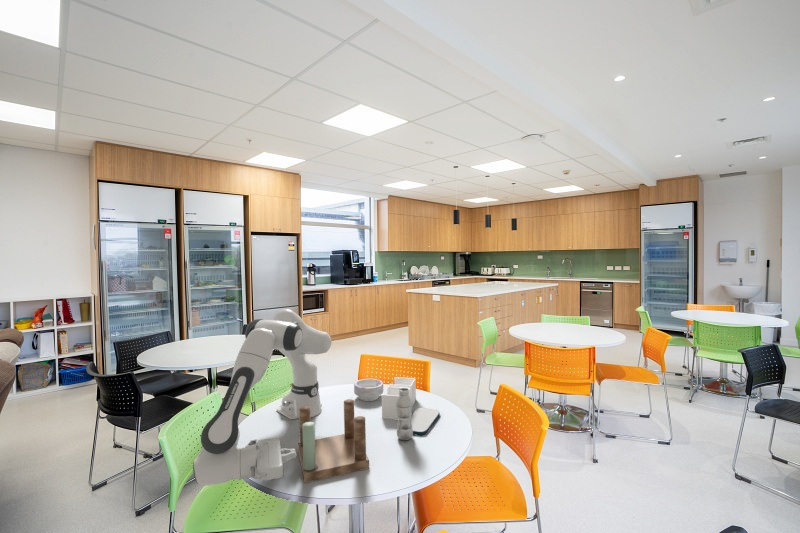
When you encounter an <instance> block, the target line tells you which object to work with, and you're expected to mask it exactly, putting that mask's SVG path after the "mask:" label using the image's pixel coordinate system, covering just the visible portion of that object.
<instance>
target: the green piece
mask: <svg viewBox="0 0 800 533" xmlns="http://www.w3.org/2000/svg"><path fill="white" fill-rule="evenodd" d="M315 424H316V423H315V422H313V421H310V422H306V423H304V424H303V425H302V428H303V465H304V469H305V470H312V469H314V468H315V467H316V455H315V440H316V427H315V426H316V425H315Z"/></svg>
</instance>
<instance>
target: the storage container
mask: <svg viewBox="0 0 800 533" xmlns="http://www.w3.org/2000/svg"><path fill="white" fill-rule="evenodd" d="M393 379H394V380H393V382H394V383H389V386H387V388H386V391H387V392H386V393H387V394H384V393H382V394H381V418H382V419H384V420H385V419H386V420H387V419H389V420H397V419H398V414H397V407H396V400H397V399H398V397H399V396H400V395H399V390H400V389H401V388H407V389H409V395H408V396H409V397H410V398H411V400H412V407H413V406H414V404H415V402H416V399H417V393H416V392H417V389H416V388H417V387H416V386H417V385H416V383H417V382H416V377H415V378H414V377H401V376H400V377H399V376H397V377H396V376H394V378H393Z"/></svg>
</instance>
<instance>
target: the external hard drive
mask: <svg viewBox="0 0 800 533" xmlns="http://www.w3.org/2000/svg"><path fill="white" fill-rule="evenodd" d="M440 415H441V414H440V411H439V410H438V409H434V408H426V407H419V408H417V409H415V410H414V412H412V413H411V422H412V428H413V436H414V435H415V436H425V435H427V434H428V433H429V431H430V430H431V429H432V427H433V426H434V424H435V423H436V422H437V421H438V419H439V417H440Z"/></svg>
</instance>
